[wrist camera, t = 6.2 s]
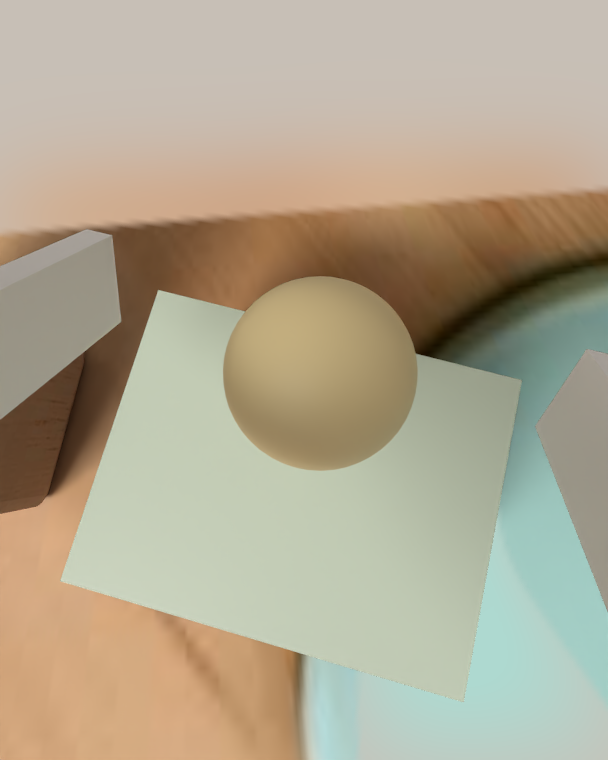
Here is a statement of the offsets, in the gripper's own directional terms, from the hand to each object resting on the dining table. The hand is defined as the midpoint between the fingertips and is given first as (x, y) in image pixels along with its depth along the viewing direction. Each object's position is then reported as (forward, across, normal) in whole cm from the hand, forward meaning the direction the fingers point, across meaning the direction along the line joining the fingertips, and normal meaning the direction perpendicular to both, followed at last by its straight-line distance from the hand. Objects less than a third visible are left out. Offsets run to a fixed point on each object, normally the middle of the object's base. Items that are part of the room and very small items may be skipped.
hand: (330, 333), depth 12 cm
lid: (0, 0, +7) cm, 7 cm away
